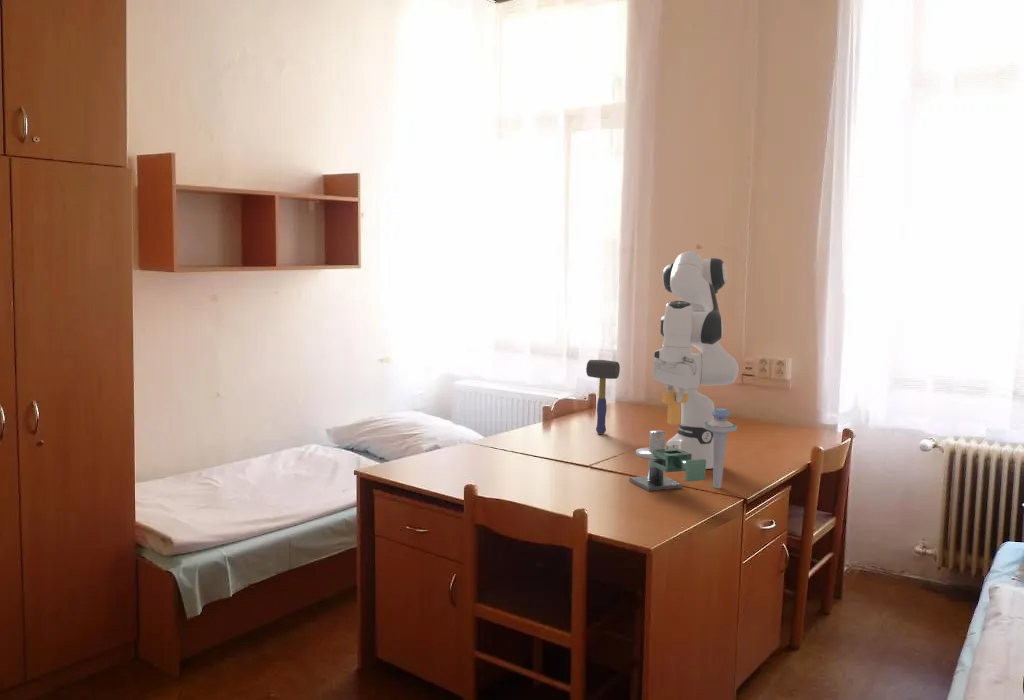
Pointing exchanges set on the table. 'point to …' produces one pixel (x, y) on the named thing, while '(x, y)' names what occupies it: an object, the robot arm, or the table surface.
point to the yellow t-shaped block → (673, 406)
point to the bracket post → (667, 464)
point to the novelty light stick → (719, 441)
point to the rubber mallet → (602, 386)
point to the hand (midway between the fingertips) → (674, 400)
